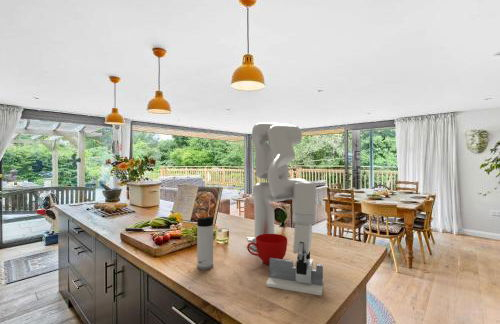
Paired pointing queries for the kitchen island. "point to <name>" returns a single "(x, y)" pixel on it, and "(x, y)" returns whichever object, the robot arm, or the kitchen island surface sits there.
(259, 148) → the robot arm
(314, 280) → the rail
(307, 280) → the clip
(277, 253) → the ceramic cup
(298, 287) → the base board
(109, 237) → the kitchen island surface
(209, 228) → the travel mug
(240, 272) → the kitchen island surface
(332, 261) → the kitchen island surface
